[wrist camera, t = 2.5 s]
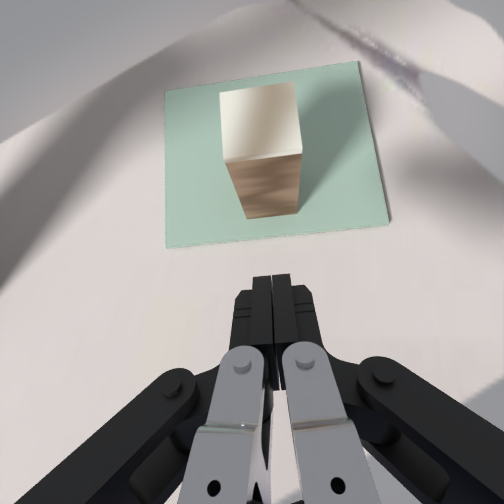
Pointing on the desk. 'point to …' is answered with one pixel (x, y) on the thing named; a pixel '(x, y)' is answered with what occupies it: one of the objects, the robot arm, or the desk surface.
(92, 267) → the desk surface
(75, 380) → the desk surface
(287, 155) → the walnut block
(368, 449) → the robot arm
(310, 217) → the sage mat
